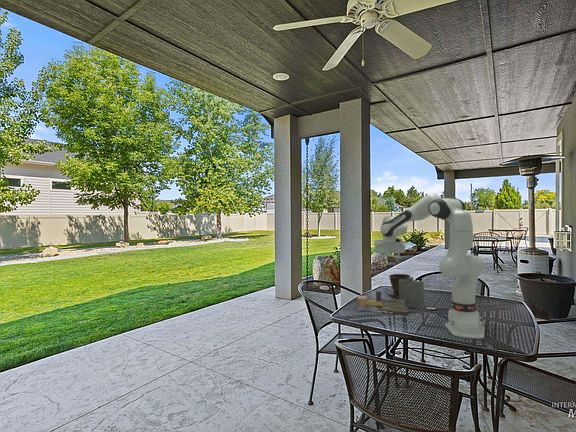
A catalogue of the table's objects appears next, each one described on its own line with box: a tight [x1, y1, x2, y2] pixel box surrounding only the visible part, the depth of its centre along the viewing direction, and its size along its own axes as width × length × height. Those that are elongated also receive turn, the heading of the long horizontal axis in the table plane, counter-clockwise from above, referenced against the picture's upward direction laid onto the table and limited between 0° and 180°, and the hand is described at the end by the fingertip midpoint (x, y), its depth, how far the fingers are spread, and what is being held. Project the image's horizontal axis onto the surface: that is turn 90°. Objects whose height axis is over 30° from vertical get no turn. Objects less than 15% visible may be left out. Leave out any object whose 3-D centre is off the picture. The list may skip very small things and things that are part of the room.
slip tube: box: [366, 291, 382, 307], centre depth 208 cm, size 3×16×9 cm, turn 68°
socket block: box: [357, 295, 368, 307], centre depth 211 cm, size 6×6×6 cm
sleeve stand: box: [373, 297, 409, 316], centre depth 206 cm, size 14×32×7 cm, turn 68°
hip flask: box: [398, 276, 426, 310], centre depth 209 cm, size 16×4×20 cm, turn 57°
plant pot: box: [388, 273, 411, 298], centre depth 233 cm, size 15×15×16 cm
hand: (390, 259), depth 218 cm, fingers open, 8 cm apart
